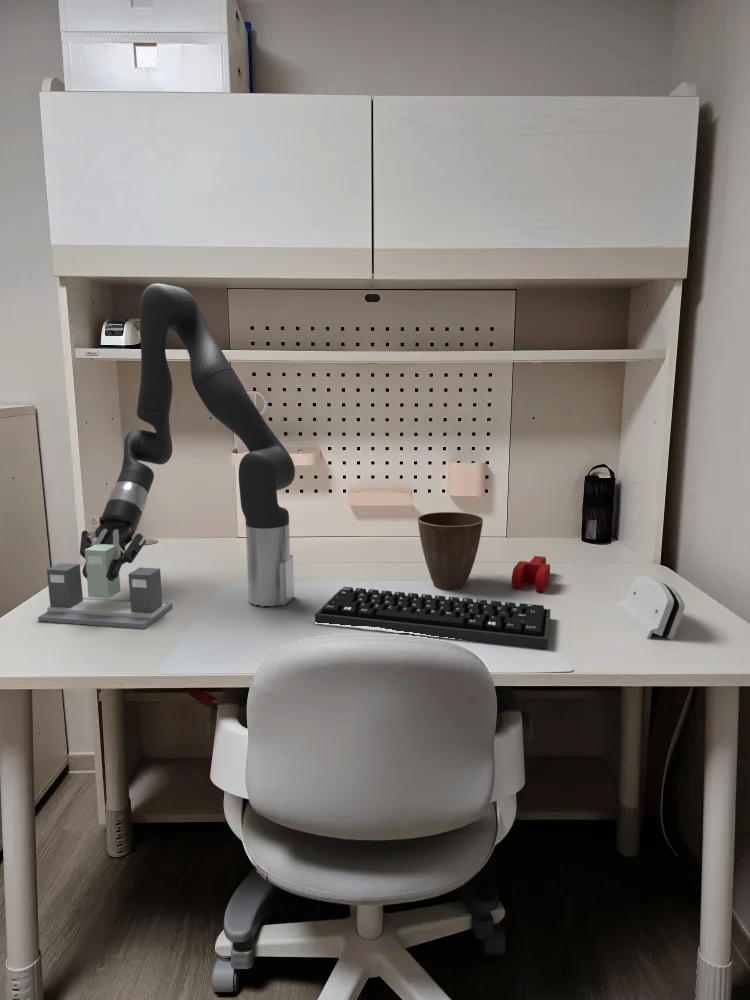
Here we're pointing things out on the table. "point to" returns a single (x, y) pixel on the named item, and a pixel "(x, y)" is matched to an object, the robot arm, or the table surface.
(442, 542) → the plant pot
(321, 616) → the computer keyboard
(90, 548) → the block
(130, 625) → the rail board
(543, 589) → the mechanical linkage
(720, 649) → the table surface
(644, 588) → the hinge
